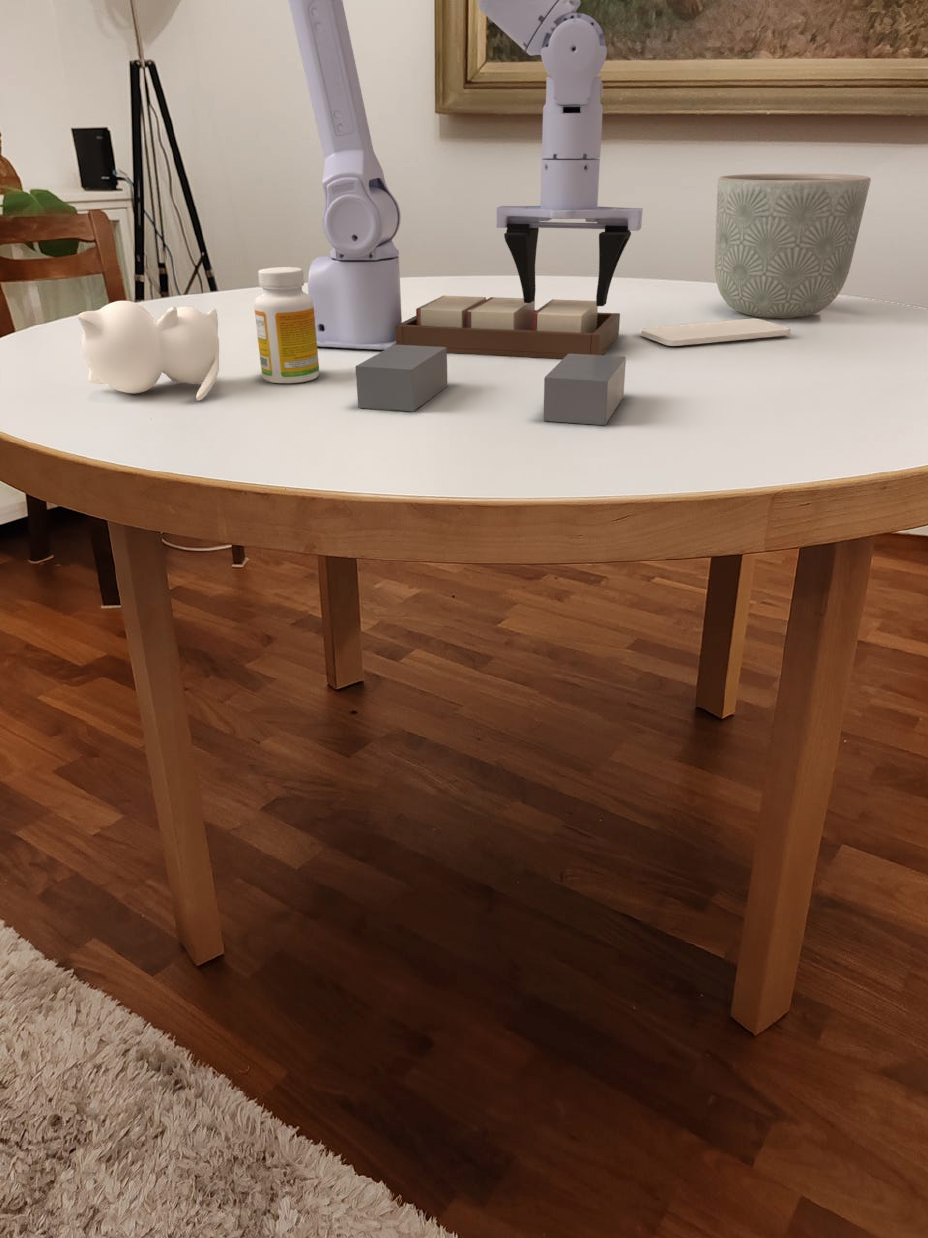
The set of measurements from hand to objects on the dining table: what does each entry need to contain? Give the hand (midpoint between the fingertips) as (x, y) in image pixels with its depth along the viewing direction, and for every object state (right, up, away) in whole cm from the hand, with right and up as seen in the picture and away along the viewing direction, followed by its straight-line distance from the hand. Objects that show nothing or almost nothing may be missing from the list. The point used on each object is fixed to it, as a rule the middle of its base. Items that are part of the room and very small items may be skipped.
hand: (564, 303), depth 99 cm
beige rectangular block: (0, -3, +2) cm, 4 cm away
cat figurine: (-38, -13, -14) cm, 42 cm away
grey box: (-1, -16, -21) cm, 26 cm away
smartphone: (+17, -2, +5) cm, 18 cm away
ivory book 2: (-6, -3, +4) cm, 8 cm away
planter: (+28, +5, +18) cm, 33 cm away
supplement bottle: (-27, -10, -9) cm, 30 cm away
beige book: (-12, -2, +5) cm, 13 cm away
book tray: (-6, -3, +4) cm, 7 cm away
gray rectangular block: (-16, -14, -16) cm, 26 cm away
